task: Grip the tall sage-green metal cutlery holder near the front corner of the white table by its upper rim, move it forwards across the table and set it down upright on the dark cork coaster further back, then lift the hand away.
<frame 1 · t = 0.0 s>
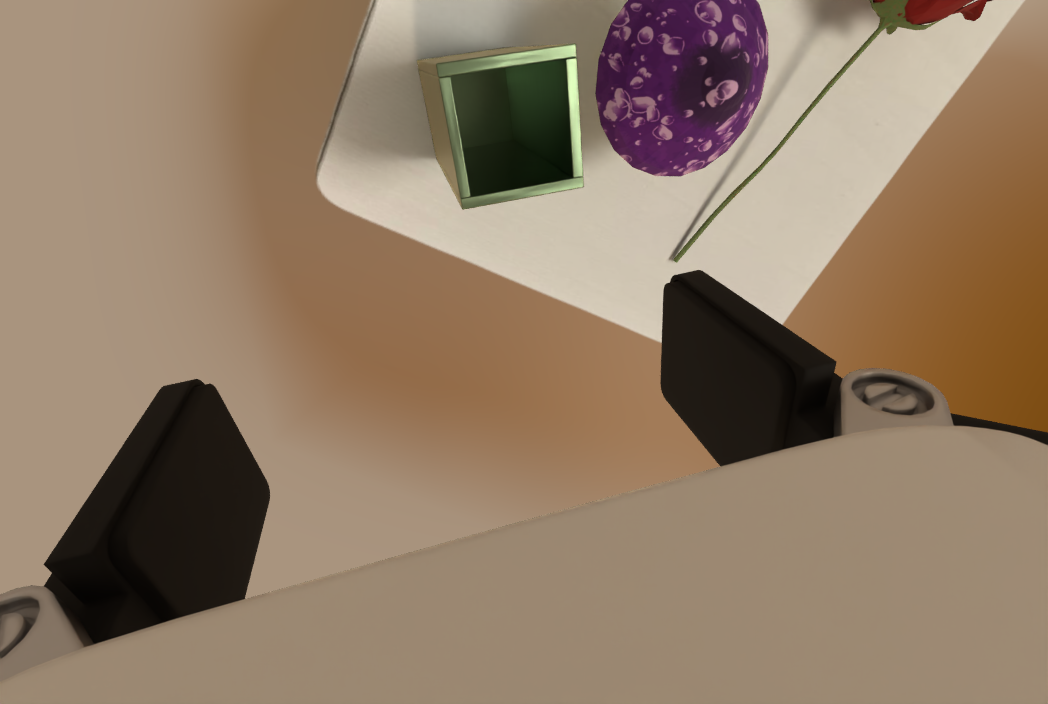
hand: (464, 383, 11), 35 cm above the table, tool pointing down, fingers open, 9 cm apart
cutlery holder: (471, 105, 40), on the table
decorative mushroom: (628, 75, 41), on the table
flower: (772, 123, 46), on the table
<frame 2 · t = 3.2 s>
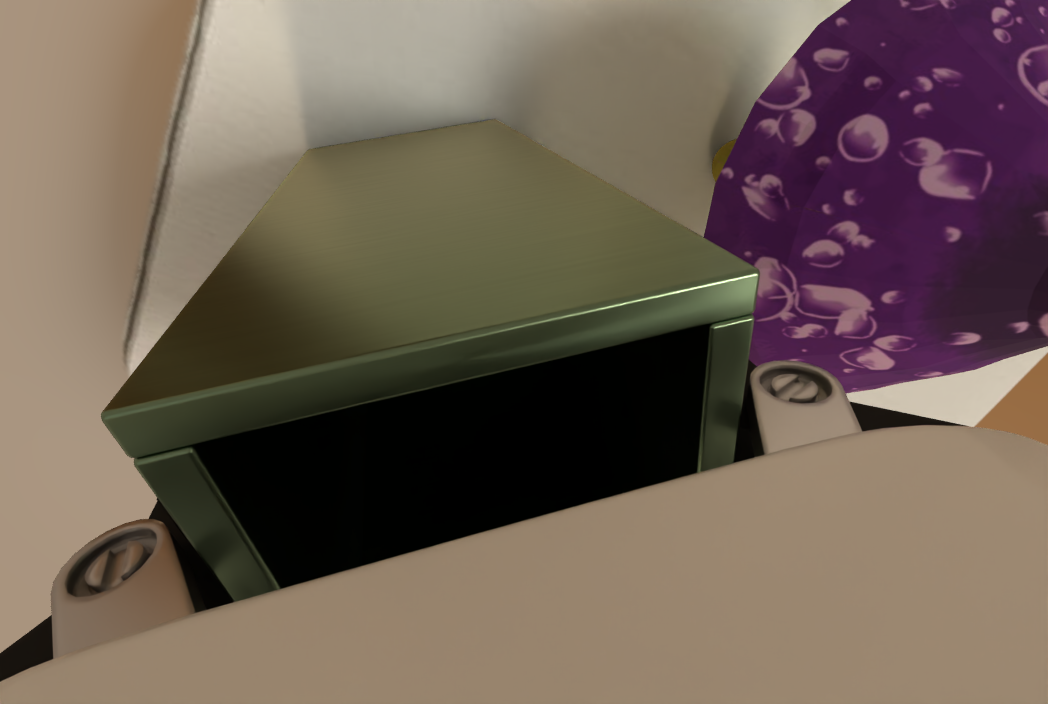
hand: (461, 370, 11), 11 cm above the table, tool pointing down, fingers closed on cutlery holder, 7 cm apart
cutlery holder: (425, 225, 20), on the table, touching gripper
decorative mushroom: (721, 160, 22), on the table
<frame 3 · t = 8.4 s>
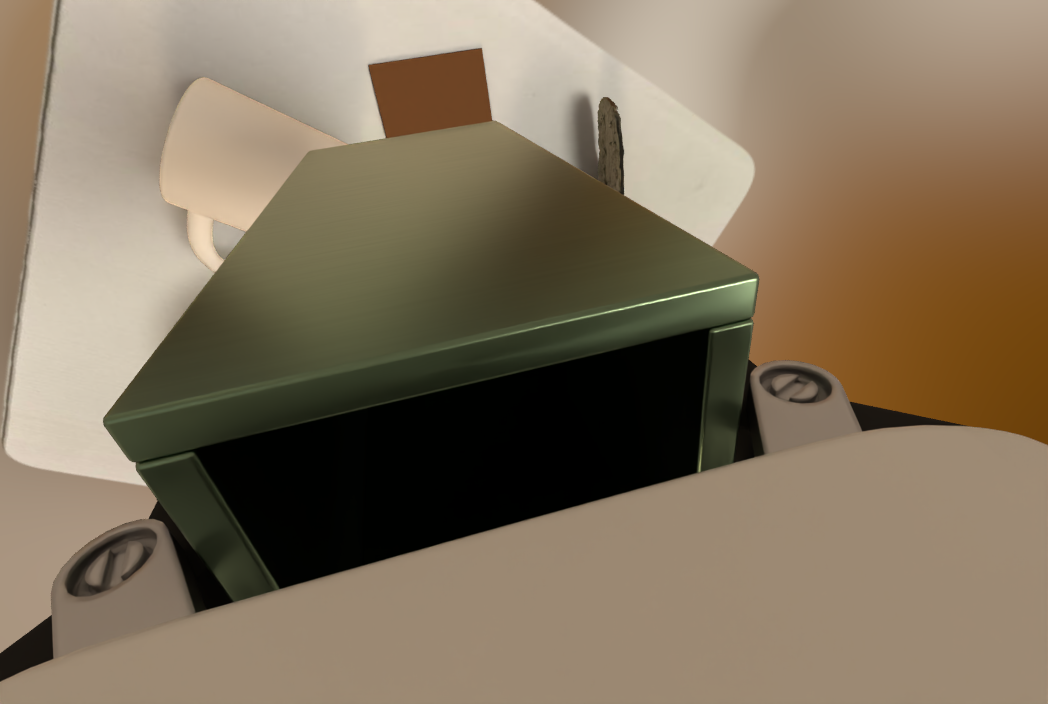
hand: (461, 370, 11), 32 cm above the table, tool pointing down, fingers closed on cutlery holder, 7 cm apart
cutlery holder: (425, 227, 21), point 21 cm above the table, touching gripper
coaster: (437, 118, 38), on the table
mug: (273, 190, 38), on the table
stone fragment: (597, 158, 42), on the table
when the fingers open (11 cm above the table, at t = 13.6 s): cutlery holder stays where it is, resting on coaster.
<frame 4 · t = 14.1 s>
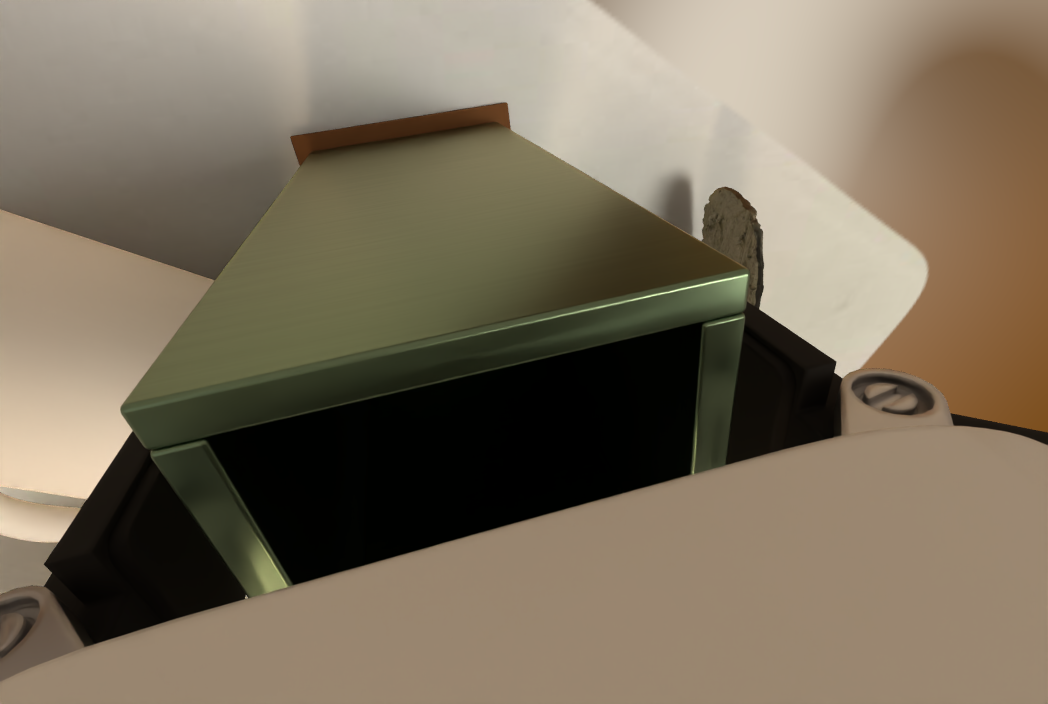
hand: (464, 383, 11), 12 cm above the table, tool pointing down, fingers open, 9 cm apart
cutlery holder: (426, 226, 21), resting on coaster
coaster: (425, 223, 21), on the table
mug: (127, 352, 21), on the table
stone fragment: (692, 273, 25), on the table
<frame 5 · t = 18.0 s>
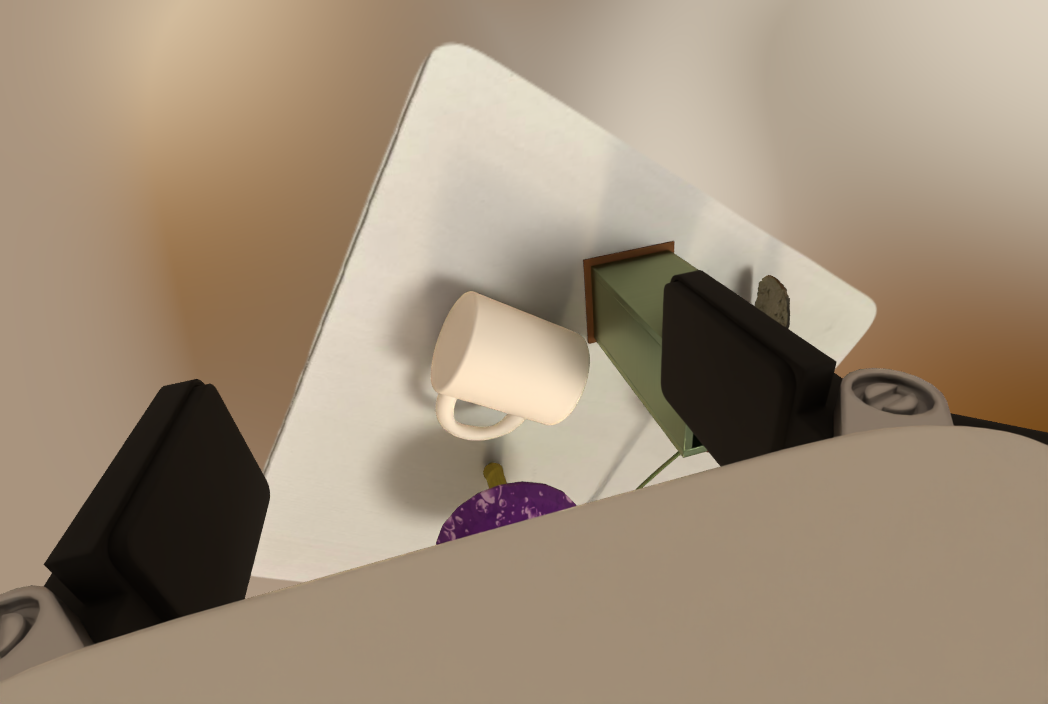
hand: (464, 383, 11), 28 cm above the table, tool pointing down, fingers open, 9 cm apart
cutlery holder: (630, 295, 44), resting on coaster
decorative mushroom: (491, 464, 50), on the table
coaster: (629, 293, 44), on the table
mug: (488, 354, 44), on the table
stone fragment: (750, 313, 48), on the table
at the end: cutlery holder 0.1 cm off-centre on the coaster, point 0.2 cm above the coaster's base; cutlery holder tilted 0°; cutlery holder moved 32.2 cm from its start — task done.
